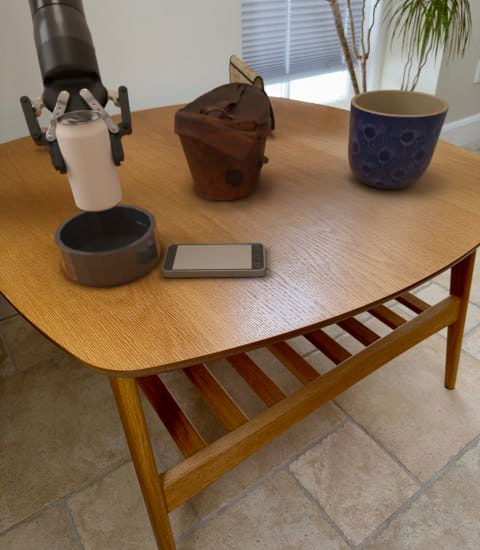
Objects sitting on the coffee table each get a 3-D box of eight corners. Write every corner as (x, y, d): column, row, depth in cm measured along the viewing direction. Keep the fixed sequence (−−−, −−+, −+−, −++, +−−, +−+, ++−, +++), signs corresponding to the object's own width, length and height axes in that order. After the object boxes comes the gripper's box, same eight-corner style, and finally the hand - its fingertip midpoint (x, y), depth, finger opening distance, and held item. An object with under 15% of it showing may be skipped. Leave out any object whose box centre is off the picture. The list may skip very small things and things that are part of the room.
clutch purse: (281, 140, 107) (283, 75, 98) (254, 143, 106) (254, 77, 97) (251, 107, 131) (251, 52, 122) (229, 109, 130) (226, 53, 121)
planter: (356, 158, 97) (366, 85, 88) (436, 172, 90) (456, 95, 81) (329, 187, 85) (337, 108, 76) (418, 206, 78) (439, 121, 69)
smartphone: (265, 270, 62) (161, 271, 62) (265, 276, 62) (162, 277, 63) (264, 242, 68) (168, 243, 68) (263, 248, 68) (169, 249, 69)
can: (92, 218, 58) (68, 128, 51) (67, 203, 62) (42, 118, 55) (132, 200, 62) (114, 115, 55) (106, 188, 65) (87, 106, 58)
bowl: (50, 288, 62) (38, 256, 58) (80, 234, 73) (72, 205, 70) (152, 285, 62) (146, 253, 58) (166, 232, 73) (162, 203, 70)
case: (183, 216, 78) (172, 114, 67) (178, 171, 93) (168, 83, 83) (281, 206, 80) (284, 106, 69) (260, 164, 95) (260, 77, 85)
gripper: (0, 38, 54) (25, 164, 52) (118, 29, 57) (145, 147, 55) (18, 75, 61) (40, 186, 59) (121, 65, 64) (145, 170, 62)
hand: (90, 167), depth 57 cm, fingers closed on can, 6 cm apart
